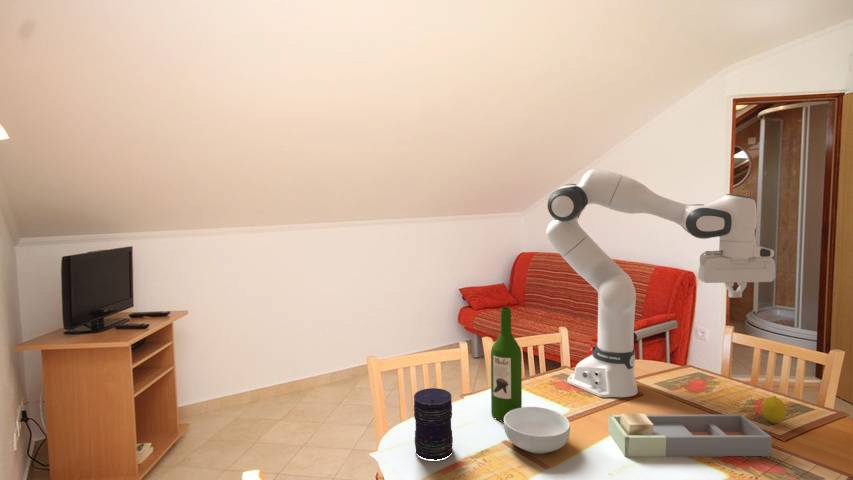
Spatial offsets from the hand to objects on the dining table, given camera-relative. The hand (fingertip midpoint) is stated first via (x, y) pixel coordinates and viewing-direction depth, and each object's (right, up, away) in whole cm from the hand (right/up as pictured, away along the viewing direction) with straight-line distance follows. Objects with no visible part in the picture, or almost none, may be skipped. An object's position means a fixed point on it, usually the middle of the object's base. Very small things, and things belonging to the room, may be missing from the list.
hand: (735, 297), depth 139 cm
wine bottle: (-66, -36, +3) cm, 76 cm away
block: (-36, -34, -15) cm, 51 cm away
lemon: (+7, -35, -6) cm, 36 cm away
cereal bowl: (-61, -38, -14) cm, 73 cm away
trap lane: (-23, -36, -15) cm, 45 cm away
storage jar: (-88, -38, -16) cm, 98 cm away
